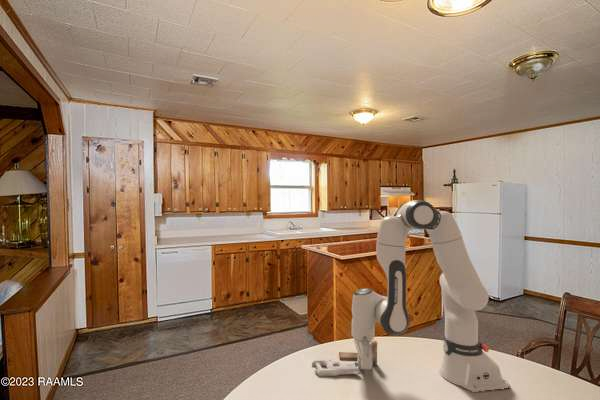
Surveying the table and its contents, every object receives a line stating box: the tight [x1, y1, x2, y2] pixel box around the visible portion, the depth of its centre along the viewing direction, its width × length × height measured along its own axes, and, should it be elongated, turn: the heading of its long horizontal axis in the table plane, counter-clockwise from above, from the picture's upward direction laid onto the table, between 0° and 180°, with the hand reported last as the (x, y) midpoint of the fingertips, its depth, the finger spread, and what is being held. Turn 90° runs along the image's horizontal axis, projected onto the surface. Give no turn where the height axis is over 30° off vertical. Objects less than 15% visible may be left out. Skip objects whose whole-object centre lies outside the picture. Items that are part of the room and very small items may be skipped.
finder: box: [356, 355, 372, 371], centre depth 116 cm, size 5×5×3 cm
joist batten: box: [338, 351, 358, 361], centre depth 122 cm, size 14×4×1 cm, turn 87°
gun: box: [311, 357, 361, 377], centre depth 113 cm, size 18×3×10 cm
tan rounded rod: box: [370, 339, 378, 367], centre depth 118 cm, size 3×3×9 cm
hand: (362, 367), depth 112 cm, fingers closed
